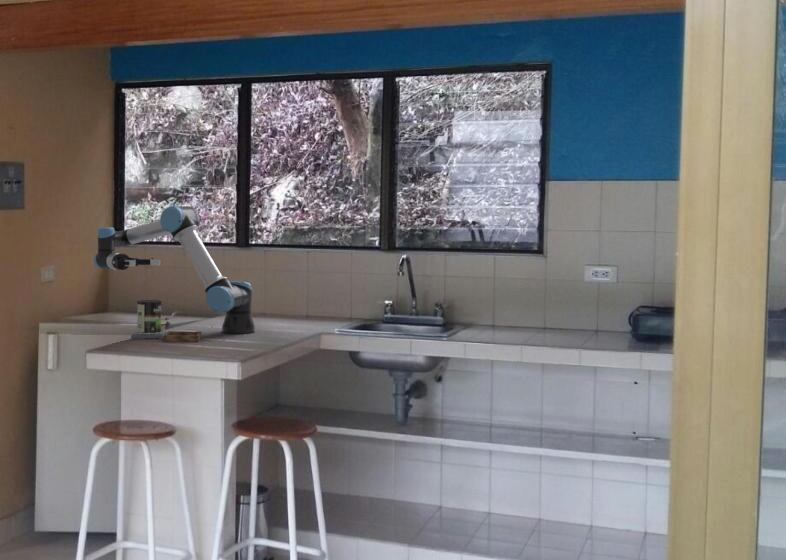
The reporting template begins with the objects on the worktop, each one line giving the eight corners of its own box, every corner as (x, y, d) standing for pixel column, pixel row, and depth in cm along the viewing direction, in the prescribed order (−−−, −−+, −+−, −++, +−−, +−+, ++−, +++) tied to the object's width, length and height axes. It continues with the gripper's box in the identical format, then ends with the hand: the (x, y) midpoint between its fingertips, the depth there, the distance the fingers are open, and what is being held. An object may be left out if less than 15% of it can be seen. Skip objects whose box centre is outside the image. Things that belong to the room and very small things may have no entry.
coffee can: (165, 332, 402) (165, 300, 402) (154, 335, 392) (154, 302, 392) (144, 331, 405) (144, 299, 404) (132, 334, 395) (132, 301, 394)
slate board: (166, 334, 406) (166, 331, 406) (162, 338, 393) (162, 335, 393) (136, 334, 404) (136, 331, 404) (131, 338, 392) (131, 335, 391)
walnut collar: (201, 337, 400) (201, 331, 400) (198, 341, 386) (198, 335, 386) (167, 337, 398) (168, 331, 398) (163, 341, 384) (163, 335, 384)
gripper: (141, 268, 431) (170, 270, 417) (95, 270, 411) (123, 272, 398) (141, 252, 430) (170, 254, 417) (95, 253, 411) (123, 255, 397)
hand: (147, 263), depth 407 cm, fingers open, 13 cm apart
